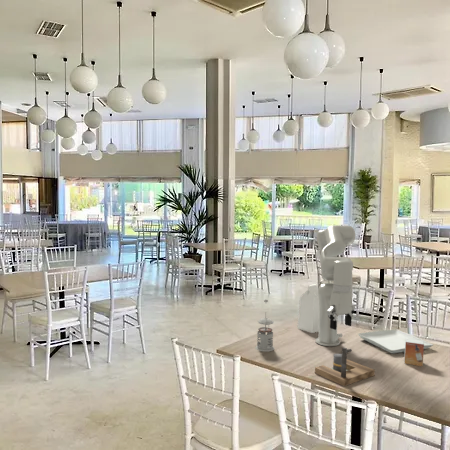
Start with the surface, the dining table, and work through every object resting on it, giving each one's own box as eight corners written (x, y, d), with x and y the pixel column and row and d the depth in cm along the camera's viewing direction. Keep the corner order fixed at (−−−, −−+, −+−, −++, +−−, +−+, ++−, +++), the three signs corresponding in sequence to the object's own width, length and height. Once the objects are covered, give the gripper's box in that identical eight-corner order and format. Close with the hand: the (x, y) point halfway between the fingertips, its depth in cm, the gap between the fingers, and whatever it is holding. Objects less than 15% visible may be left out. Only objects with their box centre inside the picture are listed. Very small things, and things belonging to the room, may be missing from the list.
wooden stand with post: (345, 363, 206) (346, 333, 205) (374, 375, 193) (375, 342, 192) (314, 373, 195) (316, 340, 194) (344, 386, 182) (345, 351, 181)
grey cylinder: (338, 368, 200) (338, 352, 200) (348, 372, 196) (348, 356, 195) (330, 370, 197) (330, 355, 197) (339, 374, 193) (340, 358, 192)
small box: (404, 363, 208) (405, 341, 207) (404, 359, 213) (405, 338, 212) (423, 366, 205) (424, 344, 204) (422, 362, 210) (423, 340, 209)
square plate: (356, 339, 243) (356, 332, 243) (396, 335, 253) (396, 328, 252) (391, 356, 218) (391, 349, 217) (434, 351, 227) (434, 343, 227)
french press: (253, 350, 222) (254, 300, 221) (257, 343, 233) (258, 295, 232) (273, 352, 220) (274, 302, 218) (276, 344, 231) (277, 297, 229)
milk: (310, 324, 268) (311, 282, 267) (325, 329, 260) (327, 285, 258) (297, 328, 261) (298, 284, 259) (312, 333, 252) (314, 287, 250)
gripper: (348, 284, 202) (346, 322, 203) (321, 289, 192) (320, 328, 193) (361, 288, 196) (360, 326, 197) (335, 292, 186) (334, 332, 187)
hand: (340, 327), depth 195 cm, fingers open, 9 cm apart
